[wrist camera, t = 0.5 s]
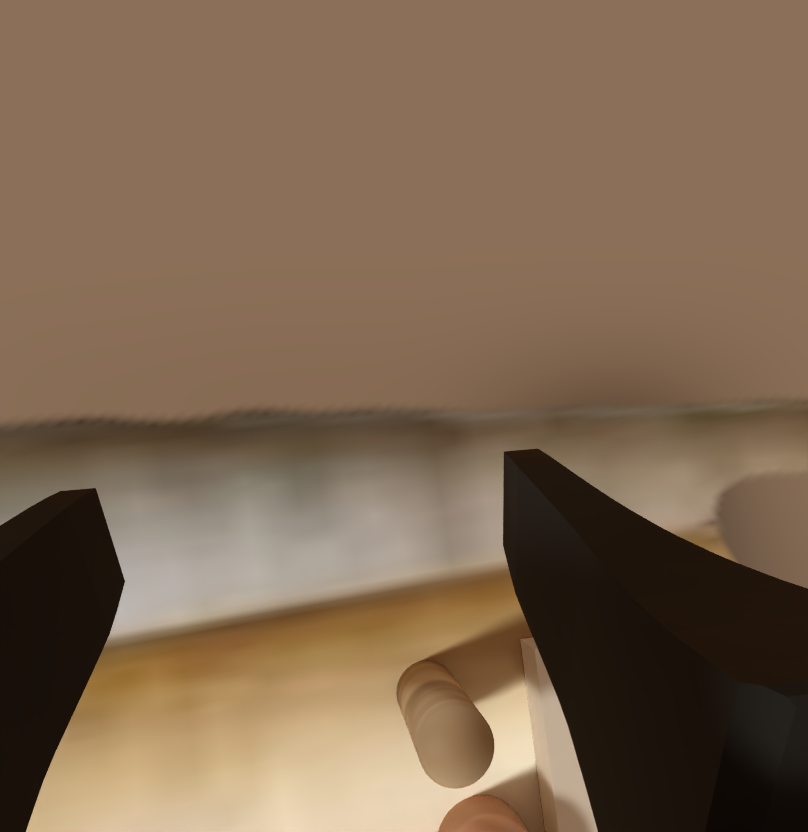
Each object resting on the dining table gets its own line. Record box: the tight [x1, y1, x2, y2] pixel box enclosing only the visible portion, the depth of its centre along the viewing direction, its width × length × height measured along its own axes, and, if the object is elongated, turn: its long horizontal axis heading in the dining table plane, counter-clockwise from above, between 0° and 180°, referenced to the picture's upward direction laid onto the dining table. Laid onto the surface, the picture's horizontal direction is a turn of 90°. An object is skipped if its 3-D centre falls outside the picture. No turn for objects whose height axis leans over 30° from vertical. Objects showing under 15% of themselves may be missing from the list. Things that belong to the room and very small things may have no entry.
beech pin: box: [397, 661, 494, 788], centre depth 30 cm, size 3×3×8 cm
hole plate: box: [520, 637, 598, 832], centre depth 34 cm, size 12×10×2 cm
